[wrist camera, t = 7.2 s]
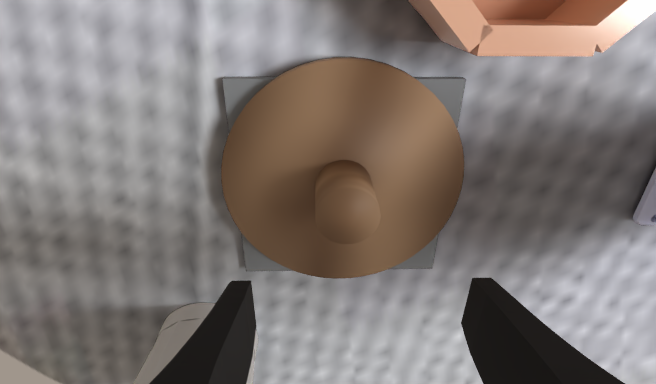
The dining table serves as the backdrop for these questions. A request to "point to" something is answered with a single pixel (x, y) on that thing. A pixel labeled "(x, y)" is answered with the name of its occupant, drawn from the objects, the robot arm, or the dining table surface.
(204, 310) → the cup
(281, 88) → the lid
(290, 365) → the dining table surface
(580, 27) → the bowl
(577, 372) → the robot arm
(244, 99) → the mat
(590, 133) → the dining table surface
